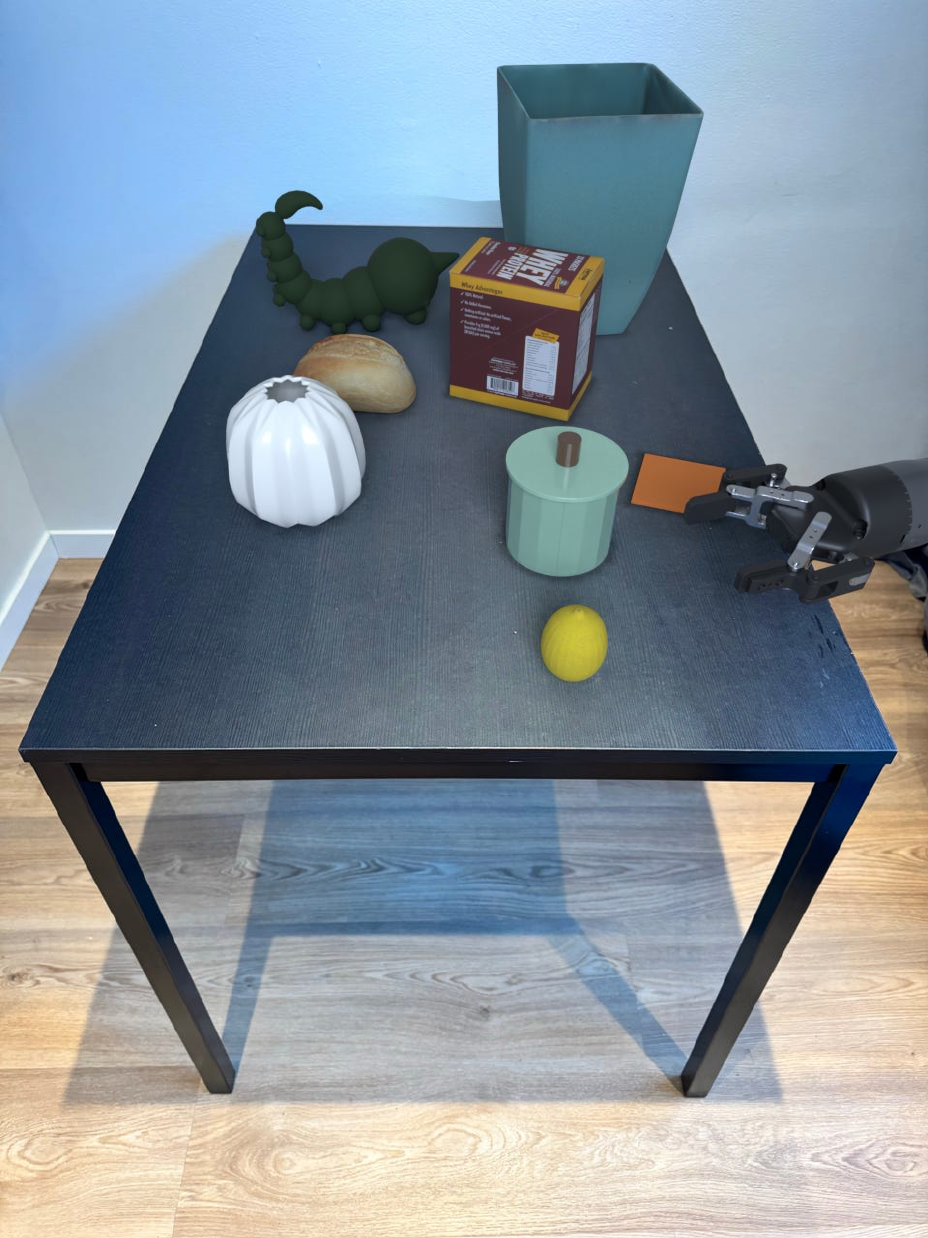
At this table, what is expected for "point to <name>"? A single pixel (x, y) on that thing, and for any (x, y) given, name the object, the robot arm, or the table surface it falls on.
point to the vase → (294, 452)
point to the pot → (558, 532)
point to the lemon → (574, 643)
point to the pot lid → (567, 464)
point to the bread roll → (361, 372)
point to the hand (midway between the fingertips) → (711, 546)
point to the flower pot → (595, 168)
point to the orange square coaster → (673, 482)
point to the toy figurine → (349, 275)
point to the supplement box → (523, 326)
